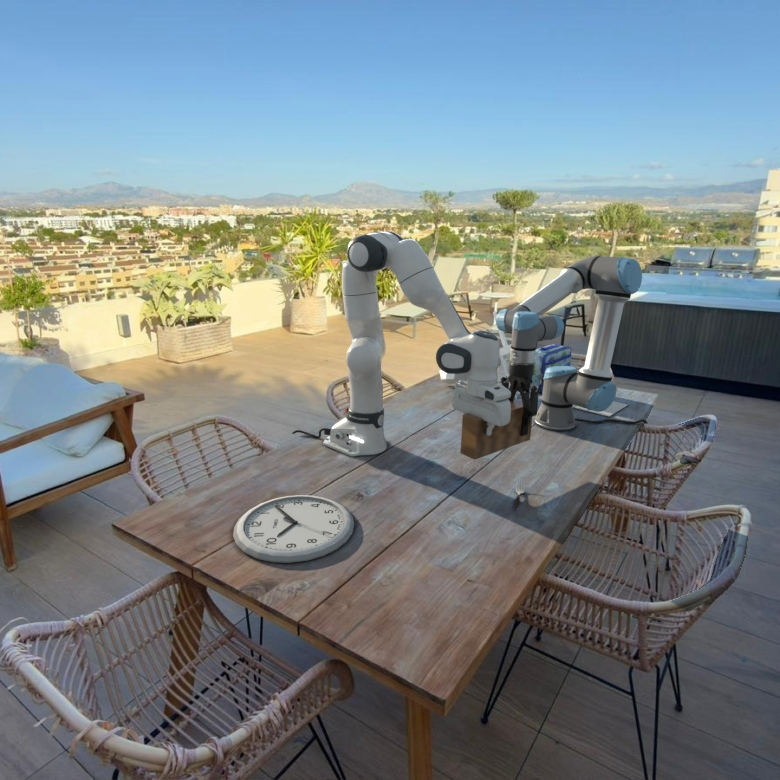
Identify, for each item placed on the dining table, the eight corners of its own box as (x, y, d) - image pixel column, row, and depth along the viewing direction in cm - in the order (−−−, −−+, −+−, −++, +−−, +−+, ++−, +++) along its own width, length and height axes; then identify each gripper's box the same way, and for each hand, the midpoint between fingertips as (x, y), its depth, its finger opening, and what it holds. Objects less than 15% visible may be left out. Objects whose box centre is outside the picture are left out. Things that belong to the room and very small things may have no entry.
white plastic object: (461, 429, 252) (437, 405, 227) (444, 352, 274) (420, 323, 250) (535, 404, 240) (518, 377, 215) (510, 326, 262) (492, 293, 237)
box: (515, 433, 174) (518, 398, 171) (530, 439, 170) (533, 403, 166) (460, 453, 159) (462, 414, 155) (474, 459, 154) (477, 420, 151)
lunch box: (543, 396, 238) (548, 352, 231) (522, 391, 245) (526, 347, 239) (570, 385, 255) (575, 343, 249) (550, 381, 262) (555, 340, 256)
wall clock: (355, 554, 119) (220, 559, 116) (355, 560, 119) (221, 565, 117) (353, 490, 147) (244, 493, 145) (353, 495, 148) (245, 498, 145)
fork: (509, 511, 141) (510, 504, 140) (517, 485, 155) (517, 479, 155) (519, 513, 140) (520, 506, 139) (526, 487, 154) (526, 481, 154)
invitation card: (608, 416, 214) (573, 407, 224) (608, 416, 214) (573, 408, 224) (628, 404, 229) (594, 396, 238) (628, 405, 229) (594, 397, 238)
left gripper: (448, 380, 159) (446, 423, 163) (501, 397, 143) (497, 444, 147) (463, 377, 162) (460, 419, 167) (515, 393, 147) (511, 439, 151)
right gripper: (490, 357, 167) (485, 425, 174) (540, 370, 153) (532, 443, 160) (505, 354, 171) (500, 420, 178) (555, 367, 157) (547, 438, 164)
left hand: (478, 431), depth 157 cm, fingers closed on box, 6 cm apart
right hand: (515, 431), depth 169 cm, fingers closed on box, 6 cm apart
